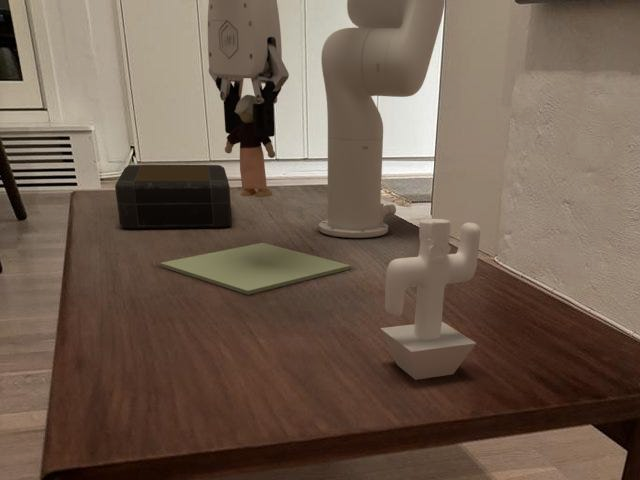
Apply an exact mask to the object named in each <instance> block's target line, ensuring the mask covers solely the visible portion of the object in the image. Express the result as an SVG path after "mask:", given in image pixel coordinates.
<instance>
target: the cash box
mask: <svg viewBox="0 0 640 480" xmlns="http://www.w3.org/2000/svg"><path fill="white" fill-rule="evenodd" d="M114 188H115V194H116V195H115V196H116V204H117V212H118V218H119V225H120V226H121V227H122V228H124V229H126V230H162V229H163V230H164V229H165V230H166V229H169V230H172V229H217V228H218V229H223V228H227V227H229V226H231V225H232V224H233V219H232V204H231V188H230V183H229V179H228V176H227V172H226V169H225V167H224V166H222V165H220V164H129V165H127V166H125V167H124V168H123V170H122V171H121V174H120V175H119V177H118V179H117V181H116V182H115V185H114Z"/></svg>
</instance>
